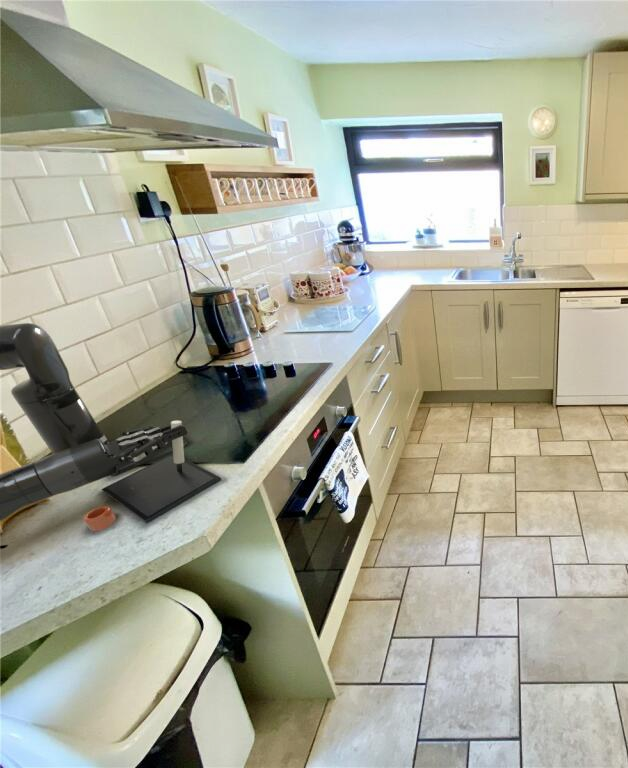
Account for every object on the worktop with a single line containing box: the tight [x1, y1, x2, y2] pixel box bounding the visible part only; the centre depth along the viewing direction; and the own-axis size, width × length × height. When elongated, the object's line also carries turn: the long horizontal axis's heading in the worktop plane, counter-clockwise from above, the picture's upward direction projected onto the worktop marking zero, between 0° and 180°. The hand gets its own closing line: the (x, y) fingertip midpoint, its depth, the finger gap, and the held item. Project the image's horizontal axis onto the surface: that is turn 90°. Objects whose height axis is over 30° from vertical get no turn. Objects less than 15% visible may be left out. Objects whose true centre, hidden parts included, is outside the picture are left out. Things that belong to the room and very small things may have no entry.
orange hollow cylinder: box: [82, 505, 117, 532], centre depth 80 cm, size 4×4×3 cm
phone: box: [110, 437, 188, 477], centre depth 100 cm, size 8×1×15 cm
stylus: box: [170, 420, 185, 473], centre depth 91 cm, size 2×2×12 cm
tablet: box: [101, 453, 222, 524], centre depth 90 cm, size 20×14×1 cm
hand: (184, 427), depth 91 cm, fingers closed on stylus, 2 cm apart
